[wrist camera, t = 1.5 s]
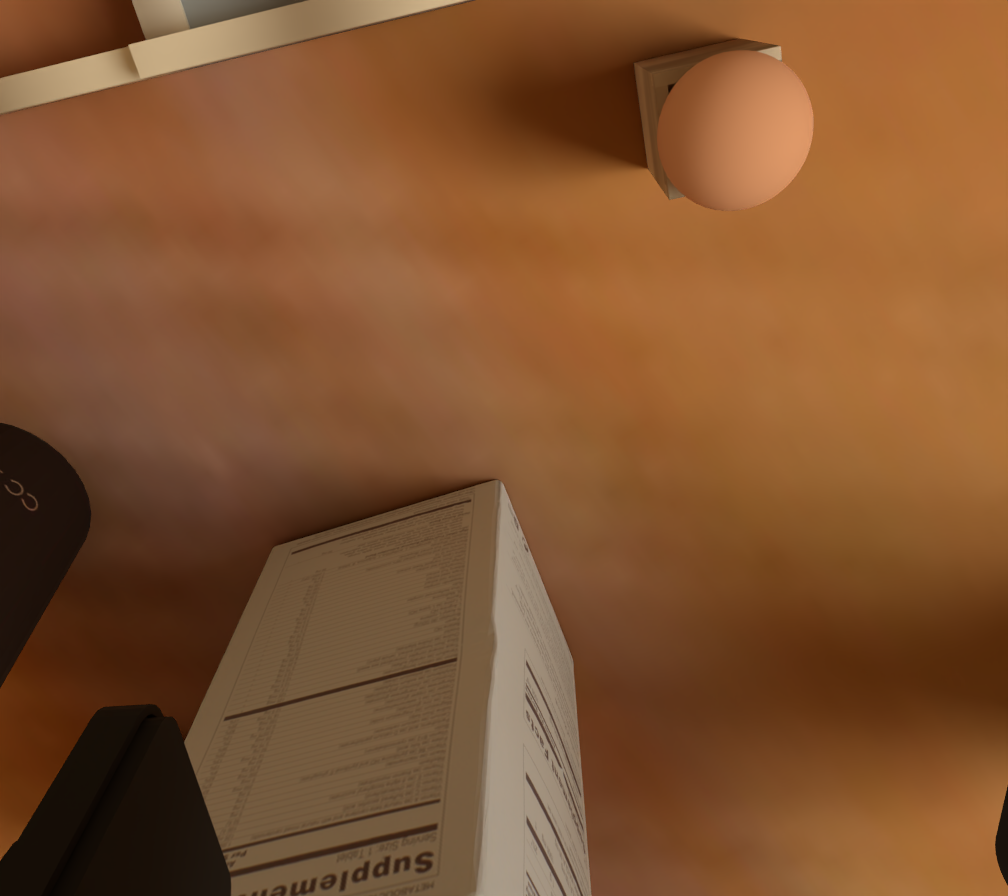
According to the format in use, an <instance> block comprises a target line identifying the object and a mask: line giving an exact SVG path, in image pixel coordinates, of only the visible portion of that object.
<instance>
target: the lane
mask: <svg viewBox="0 0 1008 896" xmlns="http://www.w3.org/2000/svg"><path fill="white" fill-rule="evenodd" d="M470 1H474V0H132V3H133V5H134V8H135V11H136V14H137V17H138V19H139V22H140V25H141V28H142V30H143V33H144V36H145V39H146V41H142V42H138V43H134V44H130V45H128V46H129V47H124V48H120V49H116V50H112V51H108V52H104V53H100V54H96V55H92V56H88V57H84V58H80V59H76V60H72V61H68V62H64V63H60V64H56V65H52V66H48V67H44V68H40V69H36V70H31V71H27V72H23V73H19V74H15V75H11V76H7V77H3V78H0V115H3V114H7V113H11V112H15V111H19V110H23V109H28V108H32V107H36V106H40V105H44V104H48V103H52V102H56V101H61V100H65V99H69V98H73V97H77V96H81V95H85V94H90V93H94V92H98V91H102V90H106V89H110V88H114V87H119V86H123V85H127V84H131V83H135V82H139V81H143V80H147V79H152V78H156V77H160V76H164V75H168V74H172V73H176V72H181V71H185V70H189V69H193V68H197V67H201V66H205V65H210V64H214V63H218V62H222V61H226V60H230V59H234V58H238V57H243V56H247V55H251V54H255V53H259V52H263V51H267V50H272V49H276V48H280V47H284V46H288V45H292V44H296V43H301V42H305V41H309V40H313V39H317V38H321V37H325V36H329V35H334V34H338V33H342V32H346V31H350V30H354V29H358V28H363V27H367V26H371V25H375V24H379V23H383V22H387V21H391V20H396V19H400V18H404V17H408V16H412V15H416V14H420V13H425V12H429V11H433V10H437V9H441V8H445V7H449V6H454V5H458V4H462V3H466V2H470Z"/></svg>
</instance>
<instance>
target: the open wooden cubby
mask: <svg viewBox="0 0 1008 896" xmlns="http://www.w3.org/2000/svg"><path fill="white" fill-rule="evenodd" d="M735 50H749V51H757V52H761V53H764V54H767V55H769V56H772V57H774V58H776V59H778V60H779V61H781V62H782V58H781V46H778V45H773V44H767V43H762V42H756V41H750V40H745V39H735V40H731V41H726V42H722V43H718V44H713V45H709V46H704V47H700V48H696V49H691V50H687V51H682V52H678V53H674V54H669V55H665V56H661V57H656V58H652V59H647V60H643V61H639V62H634V70H635V77H636V85H637V92H638V99H639V107H640V114H641V121H642V129H643V136H644V143H645V151H646V158H647V165H648V170H649V171H650V173H651V174H652V175H653V177H654V178H655V180H656V181H657V183H658V184H659V186H660V187H661V188H662V190H663V191H664V193H665V194H666V196H667V197H668V198H669V200H671V199H676V198H681V197H685V196H684V195H683V194H682V193H681V192H679V191H678V189H677V188H676V187H675V186H674V185H673V184H672V182H671V181H670V179H669V178H668V177H667V175H666V172H665V170H664V168H663V166H662V163H661V160H660V157H659V152H658V146H657V129H658V122H659V117H660V114H661V111H662V107H663V105H664V103H665V101H666V98H667V96H668V95H669V93H670V91H671V90H672V88H673V87H674V86H675V84H676V83H677V82H678V80H679V79H680V78H681V77H682V76H683V75H684V74H685V73H686V72H687V71H688V70H690V69H691V68H692V67H693V66H695V65H696V64H698V63H699V62H701V61H703V60H704V59H707V58H709V57H711V56H713V55H716V54H720V53H723V52H728V51H735Z"/></svg>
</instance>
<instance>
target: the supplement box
mask: <svg viewBox="0 0 1008 896" xmlns="http://www.w3.org/2000/svg"><path fill="white" fill-rule="evenodd" d="M184 744H185V747H186V750H187V752H188V755H189V758H190V761H191V764H192V767H193V769H194V772H195V775H196V778H197V781H198V784H199V787H200V789H201V792H202V795H203V798H204V801H205V804H206V807H207V809H208V812H209V815H210V818H211V821H212V824H213V827H214V829H215V832H216V835H217V838H218V841H219V844H220V847H221V849H222V852H223V855H224V858H225V861H226V864H227V867H228V869H229V872H230V877H231V896H591V882H590V869H589V858H588V845H587V831H586V818H585V805H584V793H583V781H582V769H581V756H580V745H579V733H578V720H577V706H576V693H575V680H574V664H573V659H572V656H571V653H570V651H569V648H568V645H567V643H566V640H565V638H564V635H563V632H562V630H561V627H560V625H559V622H558V620H557V617H556V615H555V612H554V610H553V607H552V605H551V602H550V600H549V597H548V595H547V592H546V590H545V587H544V585H543V582H542V580H541V577H540V575H539V572H538V570H537V567H536V565H535V562H534V560H533V557H532V555H531V552H530V549H529V547H528V544H527V542H526V539H525V537H524V534H523V532H522V529H521V527H520V524H519V522H518V519H517V517H516V514H515V512H514V510H513V507H512V505H511V502H510V499H509V497H508V494H507V492H506V489H505V487H504V484H503V483H502V482H501V481H499V480H493V481H490V482H486V483H483V484H479V485H476V486H473V487H469V488H466V489H463V490H459V491H456V492H453V493H450V494H446V495H443V496H439V497H436V498H433V499H429V500H426V501H423V502H419V503H416V504H413V505H410V506H406V507H403V508H400V509H397V510H393V511H390V512H387V513H383V514H380V515H377V516H373V517H370V518H367V519H364V520H360V521H357V522H354V523H350V524H347V525H344V526H341V527H337V528H334V529H331V530H327V531H324V532H321V533H317V534H314V535H311V536H308V537H304V538H301V539H298V540H294V541H291V542H288V543H284V544H281V545H278V546H275V547H273V548H272V550H271V553H270V555H269V557H268V559H267V561H266V564H265V566H264V568H263V570H262V572H261V575H260V577H259V579H258V581H257V583H256V586H255V588H254V590H253V592H252V594H251V596H250V599H249V601H248V603H247V605H246V607H245V609H244V612H243V614H242V616H241V618H240V620H239V622H238V625H237V627H236V629H235V631H234V634H233V636H232V638H231V640H230V642H229V645H228V647H227V649H226V652H225V654H224V655H223V657H222V660H221V662H220V664H219V667H218V669H217V671H216V673H215V675H214V677H213V680H212V682H211V684H210V686H209V688H208V690H207V693H206V695H205V697H204V699H203V701H202V704H201V706H200V708H199V710H198V713H197V715H196V717H195V719H194V722H193V724H192V726H191V728H190V731H189V733H188V735H187V737H186V739H185V741H184Z"/></svg>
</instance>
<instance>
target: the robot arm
mask: <svg viewBox="0 0 1008 896" xmlns="http://www.w3.org/2000/svg"><path fill="white" fill-rule="evenodd" d="M995 848H996V856H997V861H998V864H999V867H1000V870H1001V873H1002V875H1003V877H1004V879H1005V881H1006V883H1007V885H1008V787H1007V791H1006V796H1005V800H1004V804H1003V809H1002V813H1001V818H1000V822H999V826H998V831H997V835H996V842H995ZM0 896H231V877H230V872H229V869H228V867H227V864H226V861H225V858H224V855H223V852H222V849H221V847H220V844H219V841H218V838H217V835H216V832H215V829H214V827H213V824H212V821H211V818H210V815H209V812H208V809H207V807H206V804H205V801H204V798H203V795H202V792H201V789H200V787H199V784H198V781H197V778H196V775H195V772H194V769H193V767H192V764H191V761H190V758H189V755H188V752H187V750H186V747H185V744H184V741H183V738H182V735H181V732H180V730H179V727H178V724H177V722H176V720H175V719H174V718H173V717H164V716H163V714H162V712H161V710H160V709H159V708H158V707H157V706H156V705H151V704H148V705H131V706H113V707H103V708H101V709H100V710H98V711H97V712H96V713H95V714H94V716H93V717H92V718H91V720H90V722H89V723H88V725H87V727H86V728H85V730H84V732H83V733H82V735H81V737H80V738H79V740H78V742H77V743H76V745H75V746H74V748H73V750H72V751H71V753H70V755H69V756H68V758H67V760H66V761H65V763H64V765H63V766H62V768H61V770H60V771H59V773H58V775H57V776H56V778H55V780H54V781H53V783H52V784H51V786H50V788H49V789H48V791H47V793H46V794H45V796H44V798H43V799H42V801H41V803H40V804H39V806H38V808H37V809H36V811H35V813H34V814H33V816H32V818H31V819H30V821H29V822H28V824H27V826H26V827H25V829H24V831H23V832H22V834H21V836H20V837H19V839H18V841H16V842H15V843H13V845H12V846H11V847H10V849H9V850H8V851H7V853H6V854H5V855H4V856H3V858H2V859H1V861H0Z"/></svg>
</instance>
